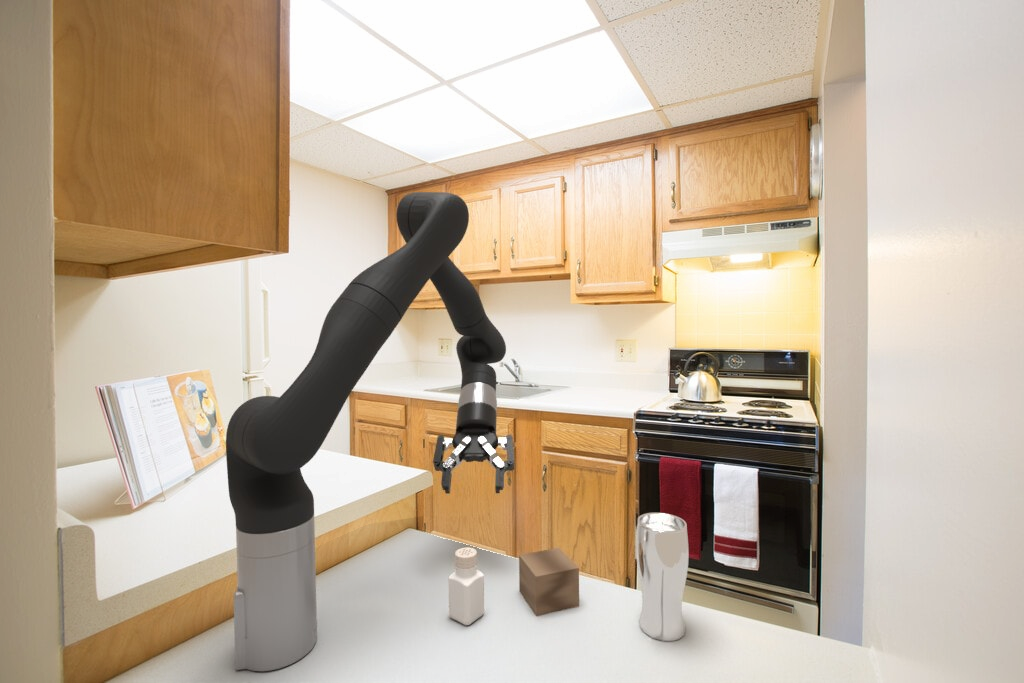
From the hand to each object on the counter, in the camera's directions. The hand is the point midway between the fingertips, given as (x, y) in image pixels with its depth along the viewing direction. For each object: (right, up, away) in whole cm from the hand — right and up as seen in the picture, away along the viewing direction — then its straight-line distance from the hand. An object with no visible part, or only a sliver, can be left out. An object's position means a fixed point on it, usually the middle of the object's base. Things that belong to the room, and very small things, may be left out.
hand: (472, 491), depth 80 cm
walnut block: (+12, -15, -7) cm, 20 cm away
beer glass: (+28, -15, -14) cm, 34 cm away
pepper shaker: (0, -15, -11) cm, 19 cm away
